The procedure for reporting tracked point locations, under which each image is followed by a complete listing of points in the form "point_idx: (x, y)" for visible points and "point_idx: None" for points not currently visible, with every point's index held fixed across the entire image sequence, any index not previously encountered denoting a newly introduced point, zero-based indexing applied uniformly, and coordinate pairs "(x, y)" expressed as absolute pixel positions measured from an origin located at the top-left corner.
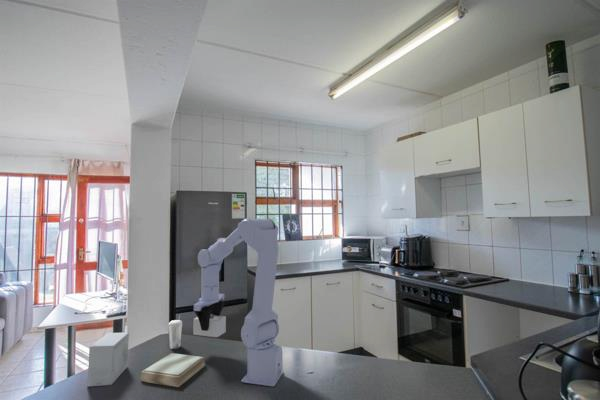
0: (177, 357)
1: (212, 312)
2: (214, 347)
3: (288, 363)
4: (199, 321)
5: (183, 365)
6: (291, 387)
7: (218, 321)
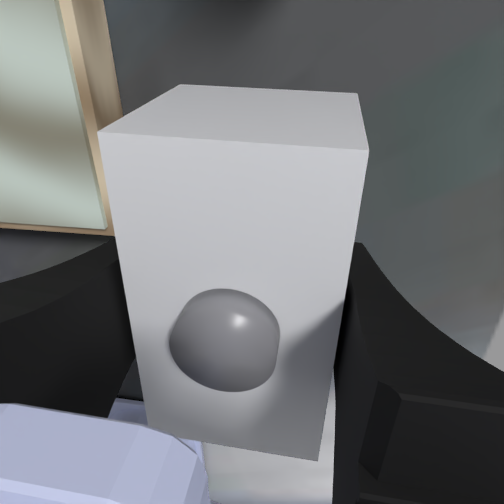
0: (19, 67)
1: (349, 345)
2: (402, 139)
3: (277, 490)
4: (78, 259)
5: None
6: None
7: (171, 428)
